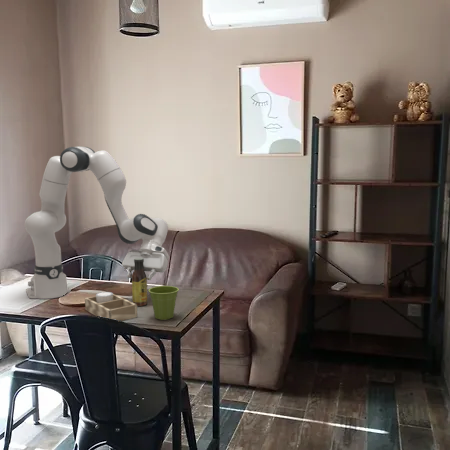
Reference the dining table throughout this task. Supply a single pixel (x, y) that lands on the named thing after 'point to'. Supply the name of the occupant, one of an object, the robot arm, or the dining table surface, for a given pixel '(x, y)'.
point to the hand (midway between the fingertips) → (138, 278)
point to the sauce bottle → (139, 283)
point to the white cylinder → (104, 297)
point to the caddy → (112, 308)
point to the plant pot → (163, 301)
